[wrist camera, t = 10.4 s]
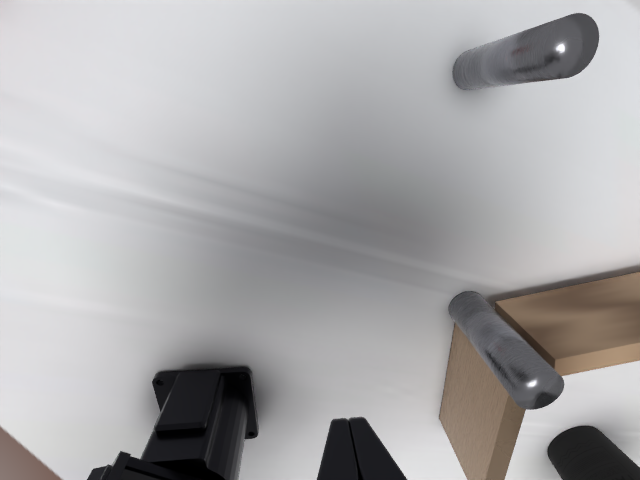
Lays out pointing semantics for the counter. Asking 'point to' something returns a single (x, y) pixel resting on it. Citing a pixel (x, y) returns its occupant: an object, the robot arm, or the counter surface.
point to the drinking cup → (590, 457)
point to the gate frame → (471, 308)
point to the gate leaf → (580, 323)
